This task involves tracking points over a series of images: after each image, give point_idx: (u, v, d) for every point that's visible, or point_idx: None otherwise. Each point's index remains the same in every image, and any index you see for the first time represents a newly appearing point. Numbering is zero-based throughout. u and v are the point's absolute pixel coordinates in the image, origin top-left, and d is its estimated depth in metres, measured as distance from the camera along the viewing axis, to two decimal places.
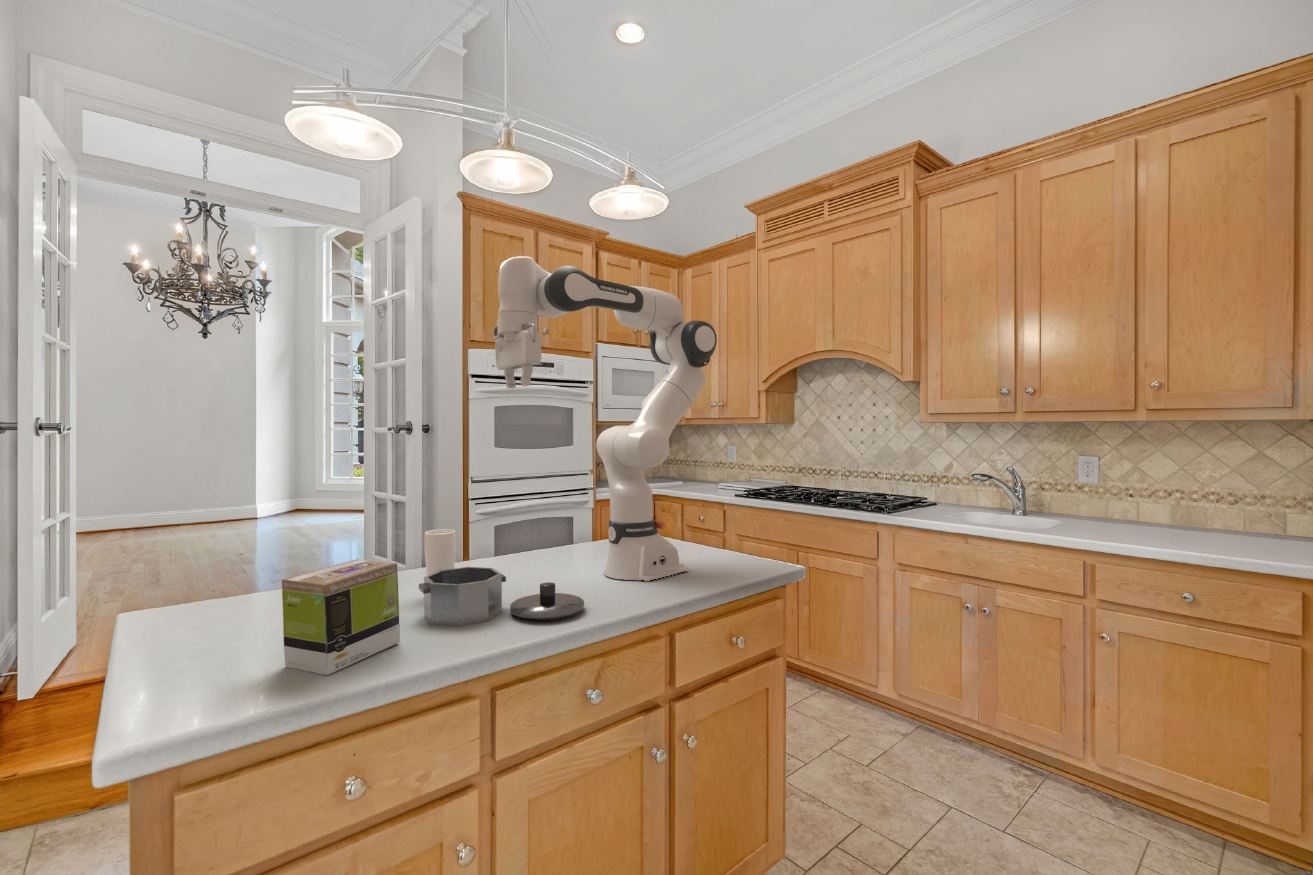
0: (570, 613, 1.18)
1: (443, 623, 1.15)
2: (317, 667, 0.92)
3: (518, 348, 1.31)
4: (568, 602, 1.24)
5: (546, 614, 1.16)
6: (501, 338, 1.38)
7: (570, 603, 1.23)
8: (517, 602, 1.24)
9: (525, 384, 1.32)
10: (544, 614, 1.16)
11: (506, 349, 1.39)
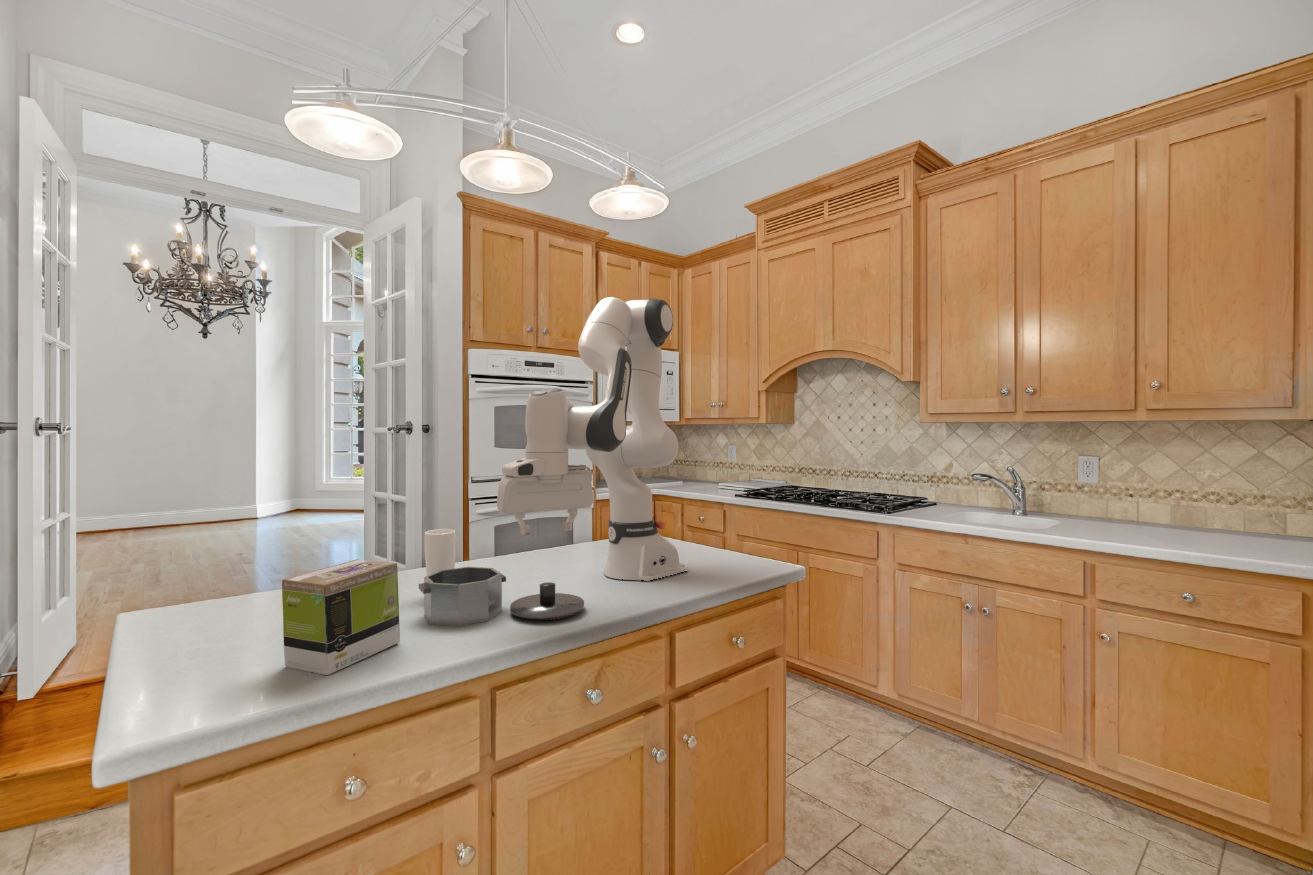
0: (570, 613, 1.18)
1: (443, 623, 1.15)
2: (317, 667, 0.92)
3: (572, 491, 1.24)
4: (568, 602, 1.24)
5: (546, 614, 1.16)
6: (536, 478, 1.18)
7: (570, 603, 1.23)
8: (517, 602, 1.24)
9: None
10: (544, 614, 1.16)
11: (534, 490, 1.19)
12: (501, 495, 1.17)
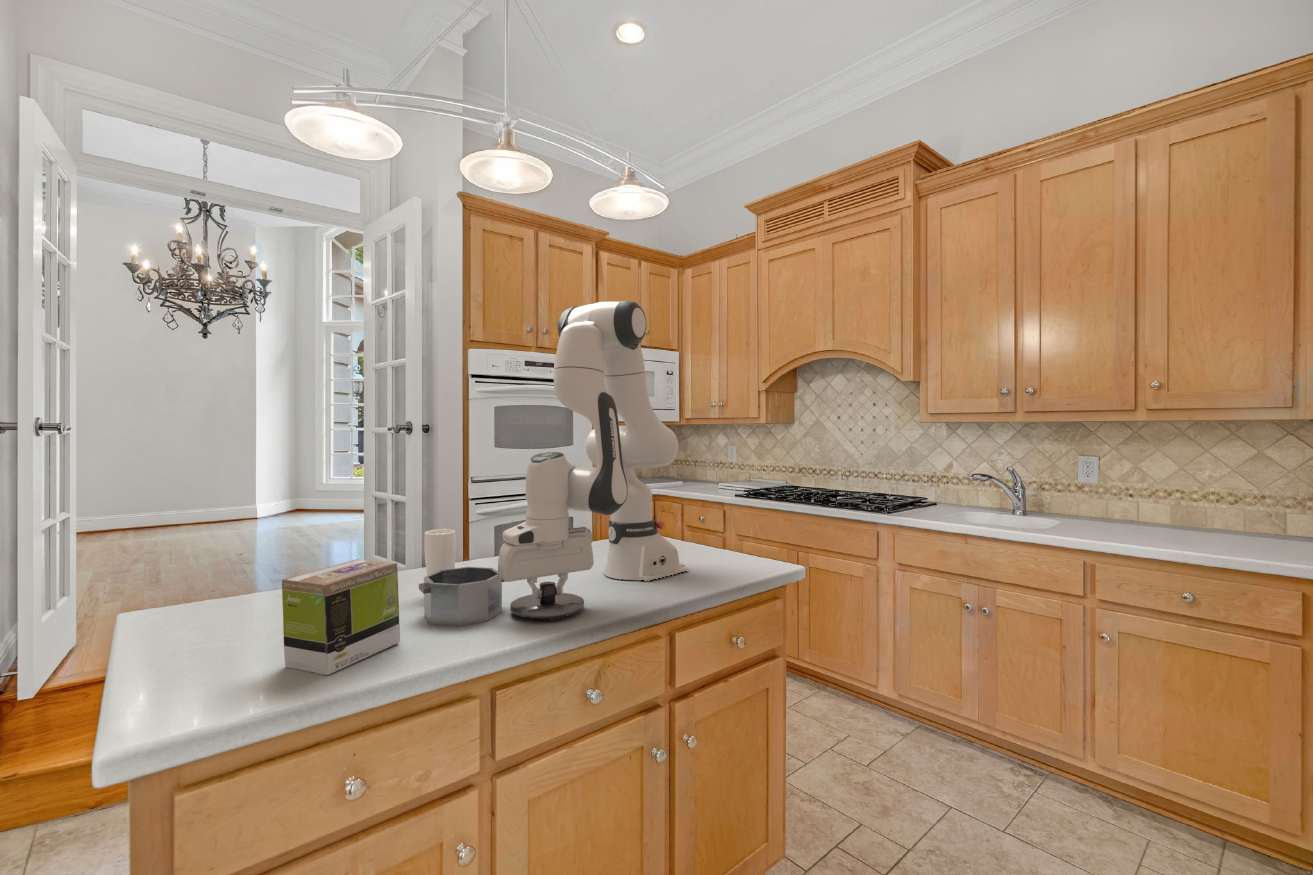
0: (570, 612, 1.18)
1: (443, 623, 1.15)
2: (317, 667, 0.92)
3: (573, 555, 1.24)
4: (568, 601, 1.24)
5: (546, 613, 1.16)
6: (536, 545, 1.19)
7: (570, 602, 1.23)
8: (518, 601, 1.24)
9: None
10: (544, 613, 1.16)
11: (534, 556, 1.20)
12: (502, 563, 1.17)
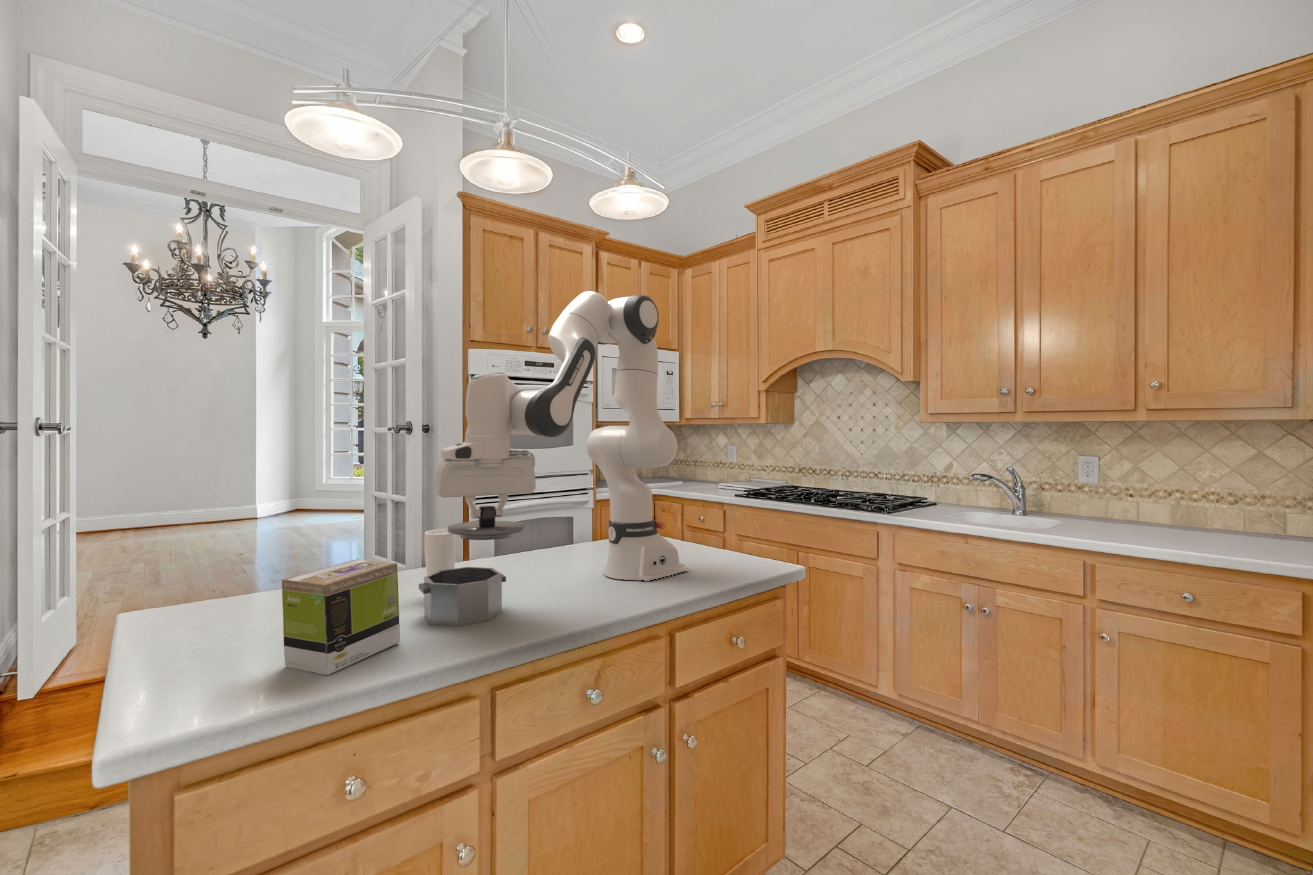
0: (508, 532, 1.16)
1: (443, 623, 1.15)
2: (317, 667, 0.92)
3: (514, 477, 1.23)
4: (508, 525, 1.22)
5: (482, 531, 1.14)
6: (474, 462, 1.17)
7: (510, 526, 1.21)
8: (457, 525, 1.22)
9: None
10: (480, 531, 1.14)
11: (473, 474, 1.18)
12: (438, 478, 1.15)
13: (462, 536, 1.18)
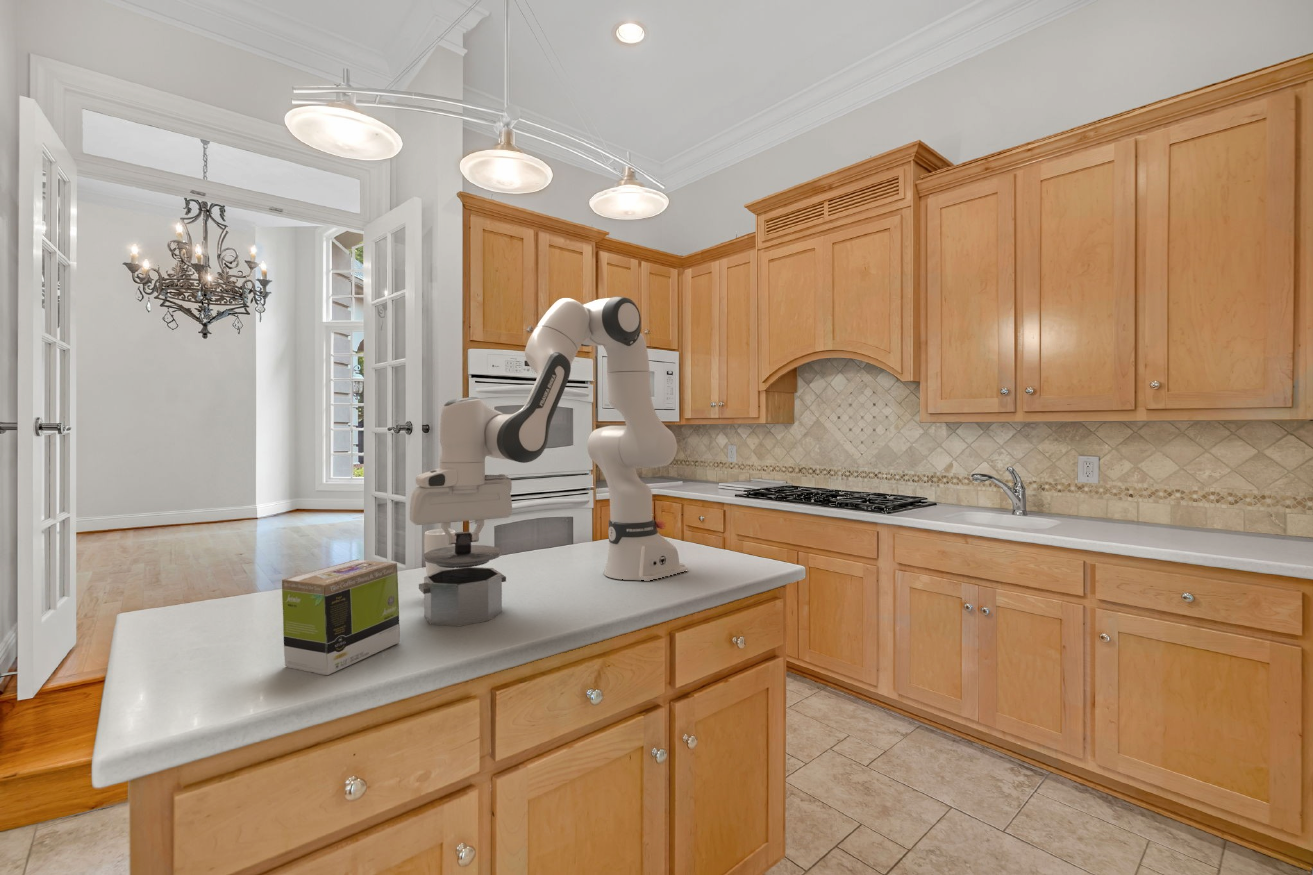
0: (482, 560, 1.16)
1: (443, 623, 1.15)
2: (317, 667, 0.92)
3: (489, 502, 1.23)
4: (484, 551, 1.22)
5: (456, 560, 1.14)
6: (448, 489, 1.17)
7: (486, 552, 1.22)
8: (433, 551, 1.22)
9: None
10: (454, 560, 1.14)
11: (447, 501, 1.18)
12: (412, 506, 1.15)
13: (437, 564, 1.18)
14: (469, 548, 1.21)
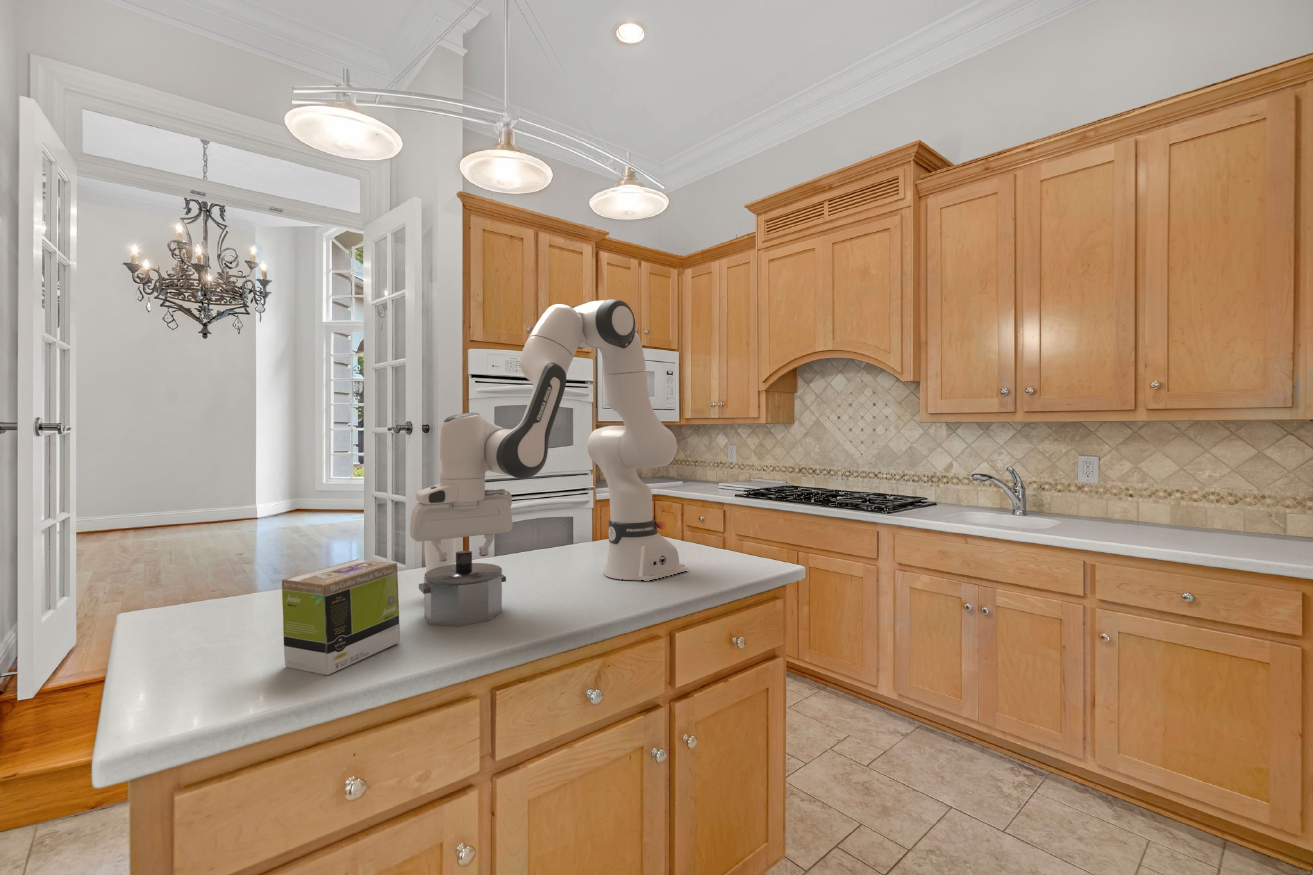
0: (483, 580, 1.17)
1: (443, 623, 1.15)
2: (317, 667, 0.92)
3: (490, 517, 1.23)
4: (485, 570, 1.22)
5: (457, 581, 1.14)
6: (449, 505, 1.17)
7: (487, 571, 1.22)
8: (434, 570, 1.23)
9: (487, 554, 1.24)
10: (455, 580, 1.15)
11: (447, 517, 1.18)
12: (412, 523, 1.16)
13: None
14: (470, 567, 1.21)
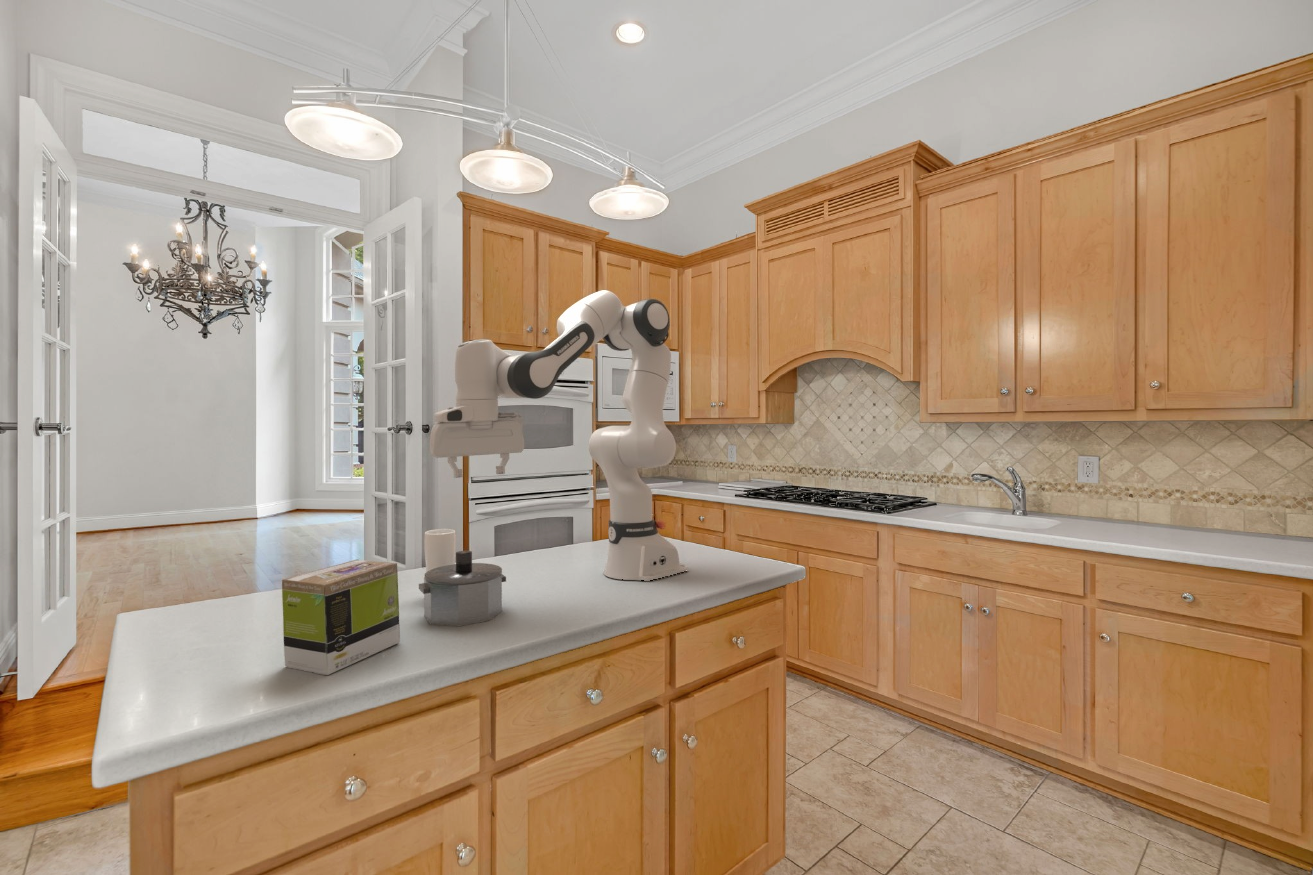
0: (483, 580, 1.17)
1: (443, 623, 1.15)
2: (317, 667, 0.92)
3: (503, 437, 1.31)
4: (485, 570, 1.22)
5: (457, 581, 1.14)
6: (465, 424, 1.26)
7: (487, 571, 1.22)
8: (434, 570, 1.23)
9: None
10: (455, 580, 1.15)
11: (464, 435, 1.27)
12: (432, 440, 1.24)
13: None
14: (470, 567, 1.21)
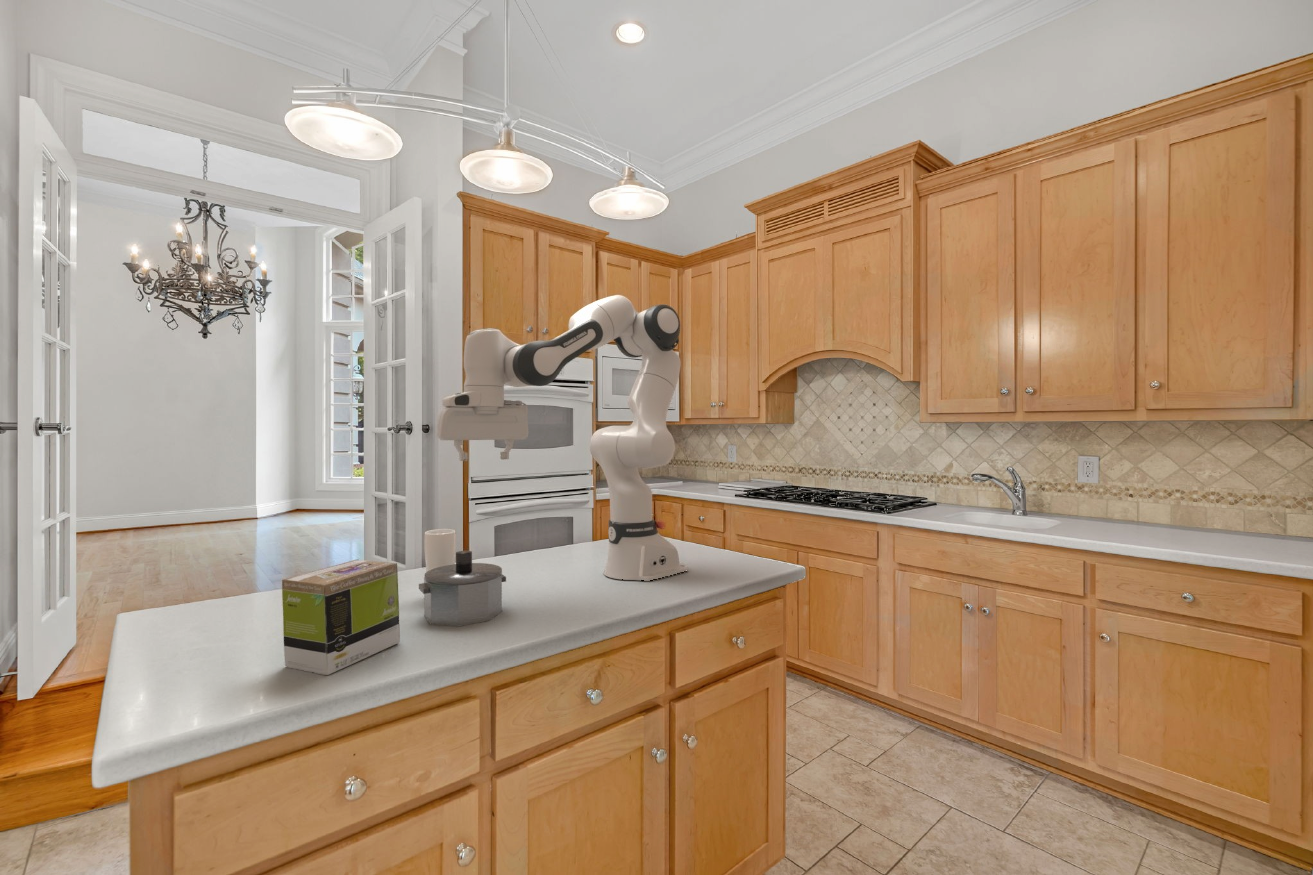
0: (483, 580, 1.17)
1: (443, 623, 1.15)
2: (317, 667, 0.92)
3: (508, 424, 1.36)
4: (485, 570, 1.22)
5: (457, 581, 1.14)
6: (472, 409, 1.30)
7: (487, 571, 1.22)
8: (434, 570, 1.23)
9: None
10: (455, 580, 1.15)
11: (471, 420, 1.32)
12: (440, 423, 1.29)
13: None
14: (470, 567, 1.21)
